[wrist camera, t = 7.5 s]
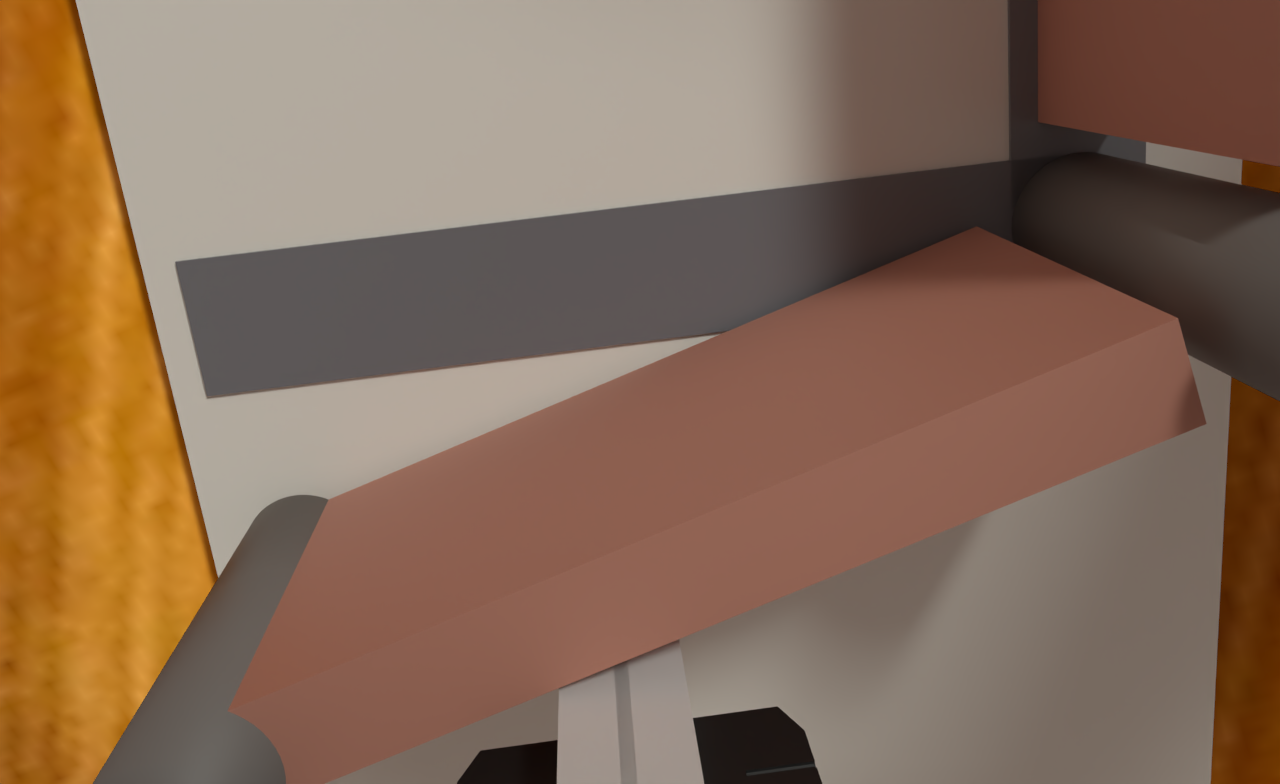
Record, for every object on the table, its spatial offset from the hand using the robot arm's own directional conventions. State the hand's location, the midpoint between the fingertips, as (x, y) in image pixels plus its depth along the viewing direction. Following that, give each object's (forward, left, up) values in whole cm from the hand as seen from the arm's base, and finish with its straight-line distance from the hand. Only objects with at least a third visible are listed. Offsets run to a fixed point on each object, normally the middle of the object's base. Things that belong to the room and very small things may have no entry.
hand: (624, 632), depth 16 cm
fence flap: (-2, 0, -2) cm, 3 cm away
